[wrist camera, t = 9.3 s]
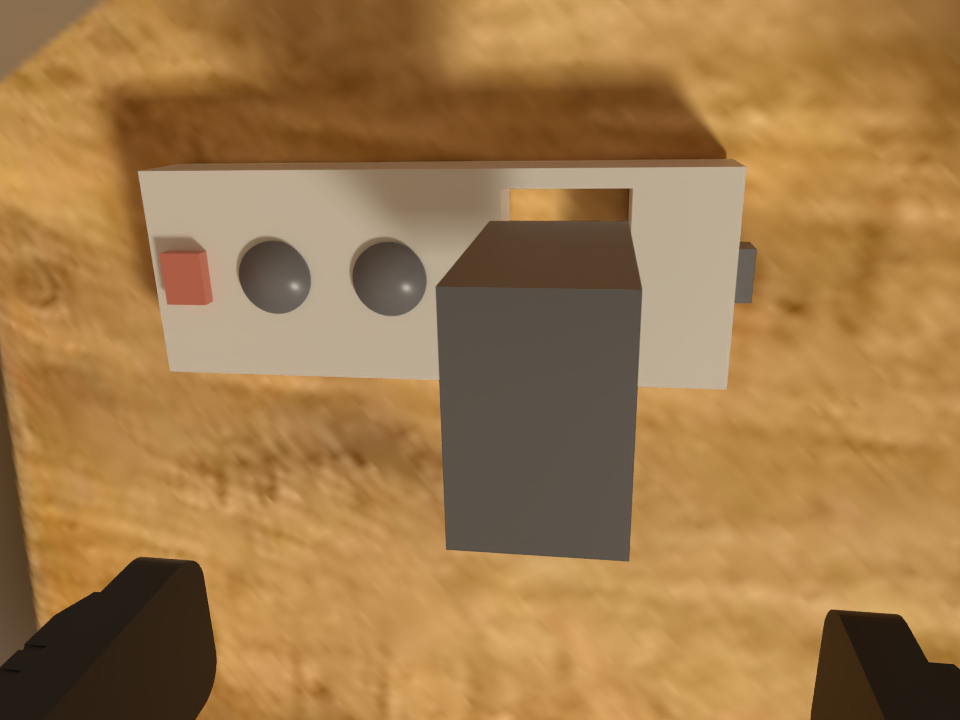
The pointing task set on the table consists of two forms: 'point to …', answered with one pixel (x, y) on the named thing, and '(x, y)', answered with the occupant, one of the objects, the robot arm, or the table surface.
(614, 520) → the charcoal plug
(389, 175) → the power strip
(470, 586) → the table surface
